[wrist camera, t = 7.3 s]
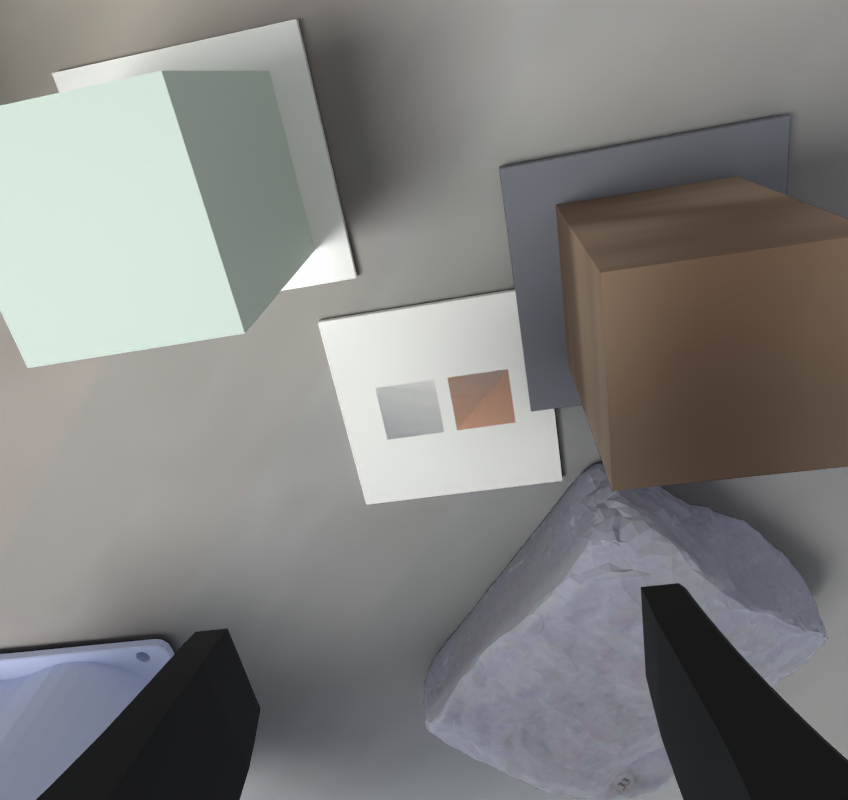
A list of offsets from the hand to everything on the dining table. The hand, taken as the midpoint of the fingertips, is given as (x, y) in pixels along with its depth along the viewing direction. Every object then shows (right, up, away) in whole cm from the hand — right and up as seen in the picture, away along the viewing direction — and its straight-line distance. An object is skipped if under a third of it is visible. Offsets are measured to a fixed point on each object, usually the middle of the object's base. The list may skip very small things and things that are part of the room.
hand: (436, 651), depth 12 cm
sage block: (-6, +10, +6) cm, 13 cm away
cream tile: (+1, +4, +9) cm, 10 cm away
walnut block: (+6, +8, +6) cm, 12 cm away
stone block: (+7, -4, +13) cm, 15 cm away
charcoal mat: (+6, +8, +7) cm, 12 cm away
